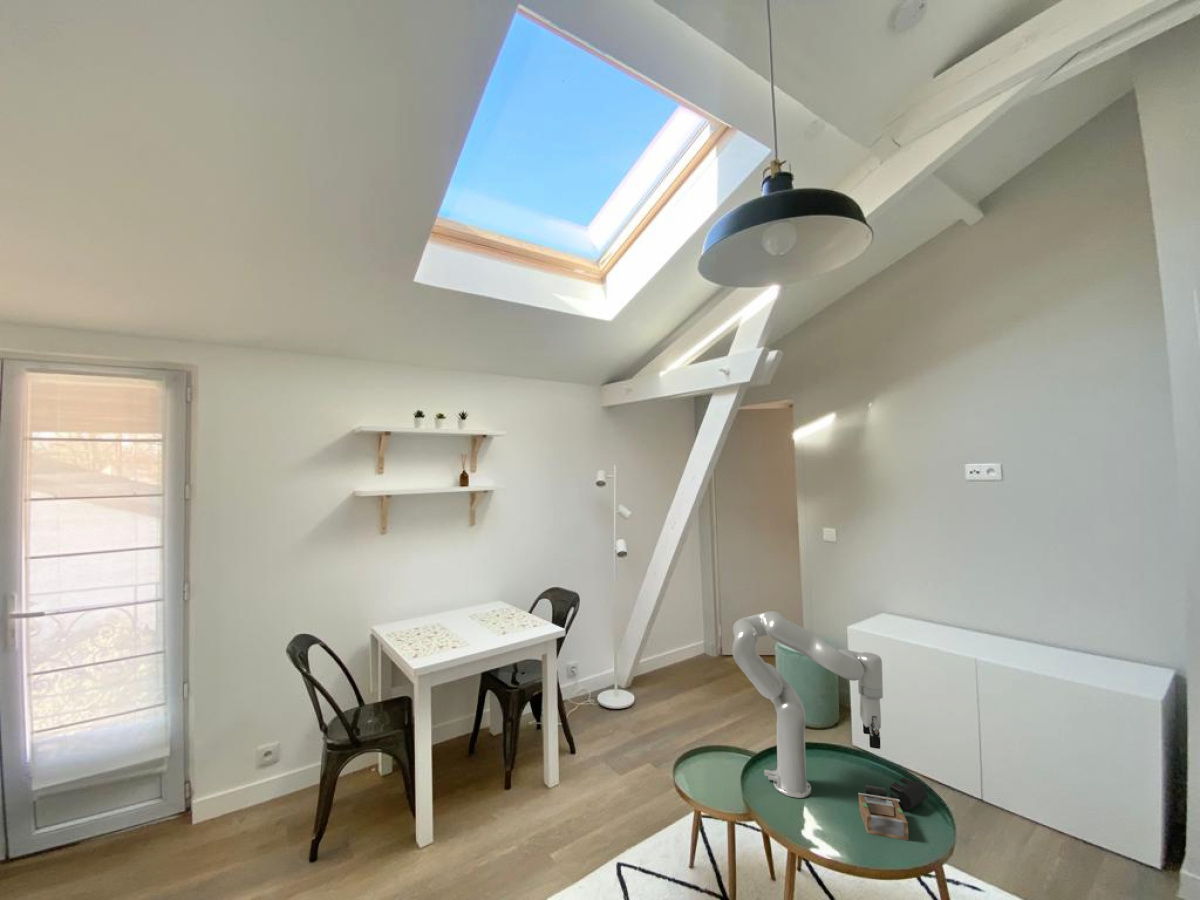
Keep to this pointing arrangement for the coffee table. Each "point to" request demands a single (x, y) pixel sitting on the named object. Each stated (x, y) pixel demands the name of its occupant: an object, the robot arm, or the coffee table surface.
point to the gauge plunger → (878, 800)
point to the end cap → (908, 793)
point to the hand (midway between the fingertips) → (871, 740)
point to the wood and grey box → (884, 821)
